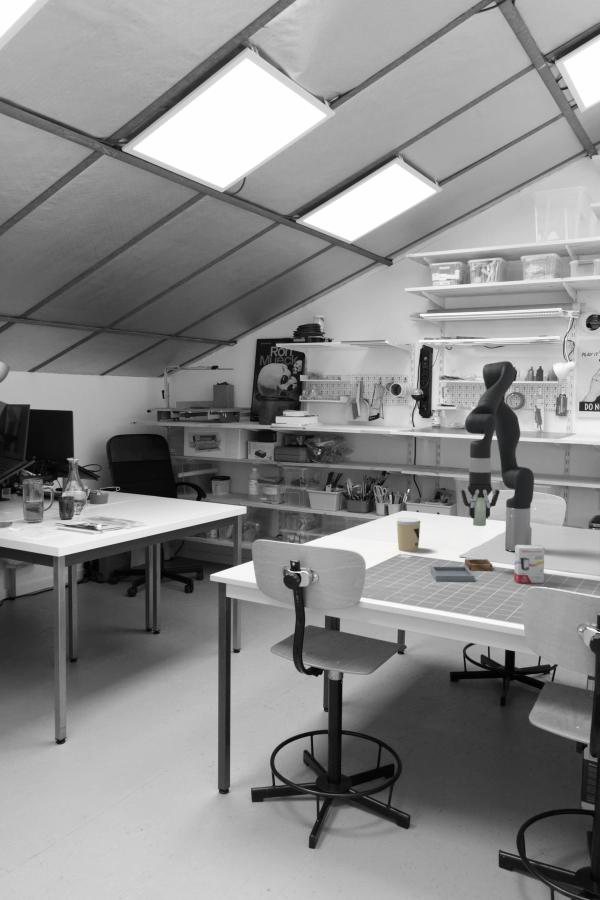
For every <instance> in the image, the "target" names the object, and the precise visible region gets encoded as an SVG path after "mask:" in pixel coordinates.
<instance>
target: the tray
mask: <svg viewBox="0 0 600 900" xmlns="http://www.w3.org/2000/svg"><path fill="white" fill-rule="evenodd" d="M471 571H472V570H469V569H468V567H466V566H443V565H442V566H439V565H437V566H436V565H434V566H432V565H431V566H430V573H431V575H432V577H433V579H434V580H435V582H475V575H474V573H472V572H471Z"/></svg>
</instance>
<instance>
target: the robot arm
mask: <svg viewBox="0 0 600 900" xmlns="http://www.w3.org/2000/svg"><path fill="white" fill-rule="evenodd" d="M515 373H516V371H515V368H514V365H513V363H512V362H510V361H507V360H504V361H503V360H502V361H499V362H497V361H496V362H493V363H492V362H491V363H486V364H485V365H484V366H483V368H482V377H483V383H484V386H485V390H486V391H485V392H483V393H482V395H481V396H480V398H479V401H477V405H476V407H474V409H472V411H470V412H469V414H467V416H466V417H465V421H464V429H465V430H466V431H467V433H469V434H473V435H480V434H481V435H483V438H481V439H477V440H474V441H472V442H470V445H469V446H470V447H469V464H468V465H469V466H468V486H467V487H466V488H464V489H460V495H461V499H462V501H463V504H464V506H466V507H468V511H469V512H468V514H469V517H470V519H473V518H474V504H475V502H476V499H477V498H485V501H486V519H488V518H490V517H491V516H490V515H491V508H492V507H495V506H496V505H497V502H498V500H499V499H498V498H499V495H500V493H501V490H499V489H498V488H496V489H495V488H493V487H492V462H491V453H492V452H491V451H492V450H491V449H492V442H493V438H494V437H493V436H494V434H495V436H496V440H497V447H498V451H499V452H498V453H499V458H500V471H501V479H502V482H503V485H504V486H505V487H506V488H508V489H511V490H513V491H514V493H513V496H512V497H511V498H508V499H507V500H506V501H505V502H506V503H505V542H504V549H505V550H506V549H507V550H511V551H515V546H516V545H532V534H533V533H532V530H533V529H532V527H531V504H532V501H533V499H534V487H535V486H534V485H535V476H534V473H533V470H532V469H530V468H529V467H525V466H519V464H518V461H517V456H516V455H517V454H516V453H517V452H516V450H517V447H518V444H519V442H520V438H521V427H520V423H519V418H518V416H517V414H516V413H515V412H514V410H513V409H512V408H511V406H509V405H508V404H507V403H506V402H505V401H504V399H503V398H504V396H505V395H506V393H507V392H508V391H509V389H510V388H511V386H512V384H513V382H514V380H515V378H516V377H515V375H516V374H515ZM468 493H469V494H470V495H471V496H470V499H469V500H470V501H469V500H468V498H467V495H468ZM490 494H491V495H492V498H491V501H490V499H489V495H490ZM474 498H475V499H474ZM507 550H506V551H507ZM511 551H510V552H511Z"/></svg>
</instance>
